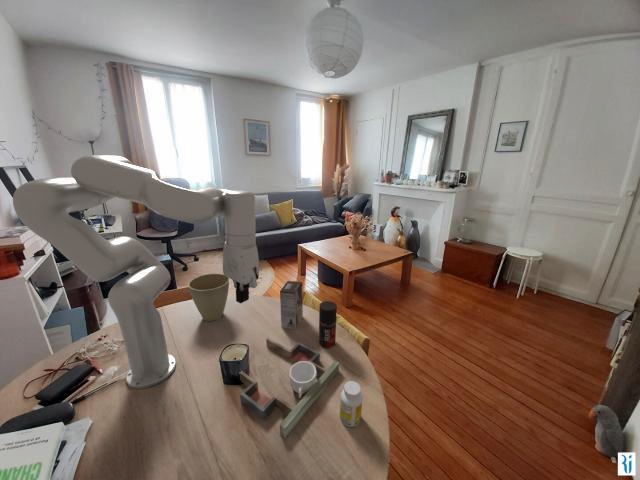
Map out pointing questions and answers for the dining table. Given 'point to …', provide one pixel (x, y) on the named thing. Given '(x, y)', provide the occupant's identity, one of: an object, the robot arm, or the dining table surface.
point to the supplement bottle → (351, 404)
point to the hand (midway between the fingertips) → (242, 300)
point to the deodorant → (327, 324)
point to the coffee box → (291, 304)
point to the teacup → (302, 377)
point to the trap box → (265, 405)
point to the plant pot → (210, 295)
